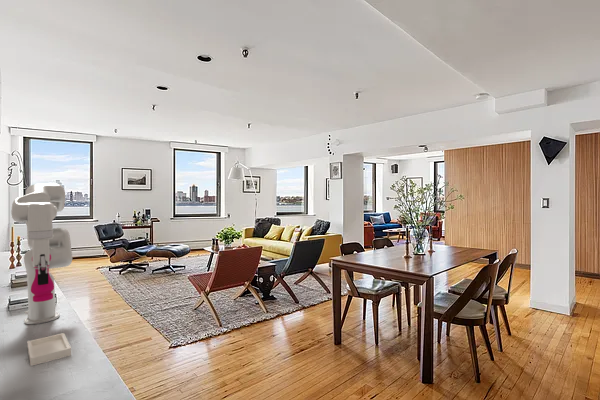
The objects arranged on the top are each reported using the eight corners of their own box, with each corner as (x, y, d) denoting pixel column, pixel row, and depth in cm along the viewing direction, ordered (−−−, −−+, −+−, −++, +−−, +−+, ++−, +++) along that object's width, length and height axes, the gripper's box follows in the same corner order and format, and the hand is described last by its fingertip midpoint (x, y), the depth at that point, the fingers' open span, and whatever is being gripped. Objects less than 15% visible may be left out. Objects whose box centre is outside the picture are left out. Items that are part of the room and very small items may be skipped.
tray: (27, 348, 126) (27, 341, 126) (64, 339, 133) (64, 332, 133) (30, 366, 112) (30, 358, 112) (71, 355, 119) (71, 348, 119)
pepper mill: (42, 302, 130) (40, 248, 130) (26, 302, 131) (24, 248, 131) (59, 297, 137) (57, 245, 137) (43, 296, 138) (42, 245, 138)
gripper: (27, 234, 138) (28, 281, 138) (29, 238, 125) (31, 289, 125) (50, 233, 143) (52, 277, 143) (55, 236, 130) (57, 285, 130)
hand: (42, 282), depth 134 cm, fingers closed on pepper mill, 5 cm apart
